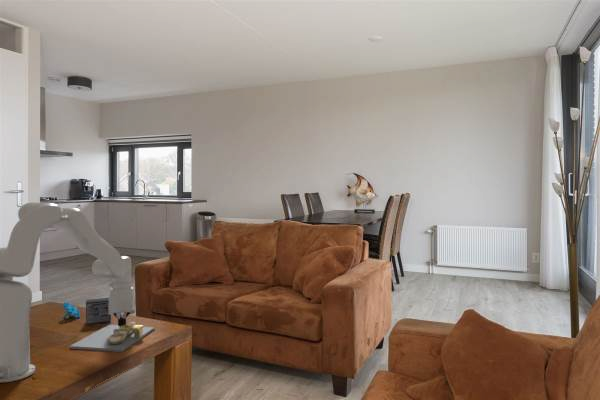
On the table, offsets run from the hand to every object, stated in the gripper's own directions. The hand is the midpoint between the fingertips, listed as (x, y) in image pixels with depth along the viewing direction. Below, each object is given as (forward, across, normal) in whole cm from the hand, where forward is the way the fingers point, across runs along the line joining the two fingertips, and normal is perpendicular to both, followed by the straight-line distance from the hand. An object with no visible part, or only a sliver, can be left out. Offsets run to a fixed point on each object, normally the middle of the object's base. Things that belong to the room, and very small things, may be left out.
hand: (122, 327), depth 184 cm
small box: (+3, -14, +19) cm, 24 cm away
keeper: (+2, +5, -7) cm, 9 cm away
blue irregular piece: (+3, -28, +29) cm, 40 cm away
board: (+3, -2, -6) cm, 7 cm away
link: (+1, +2, -7) cm, 7 cm away
